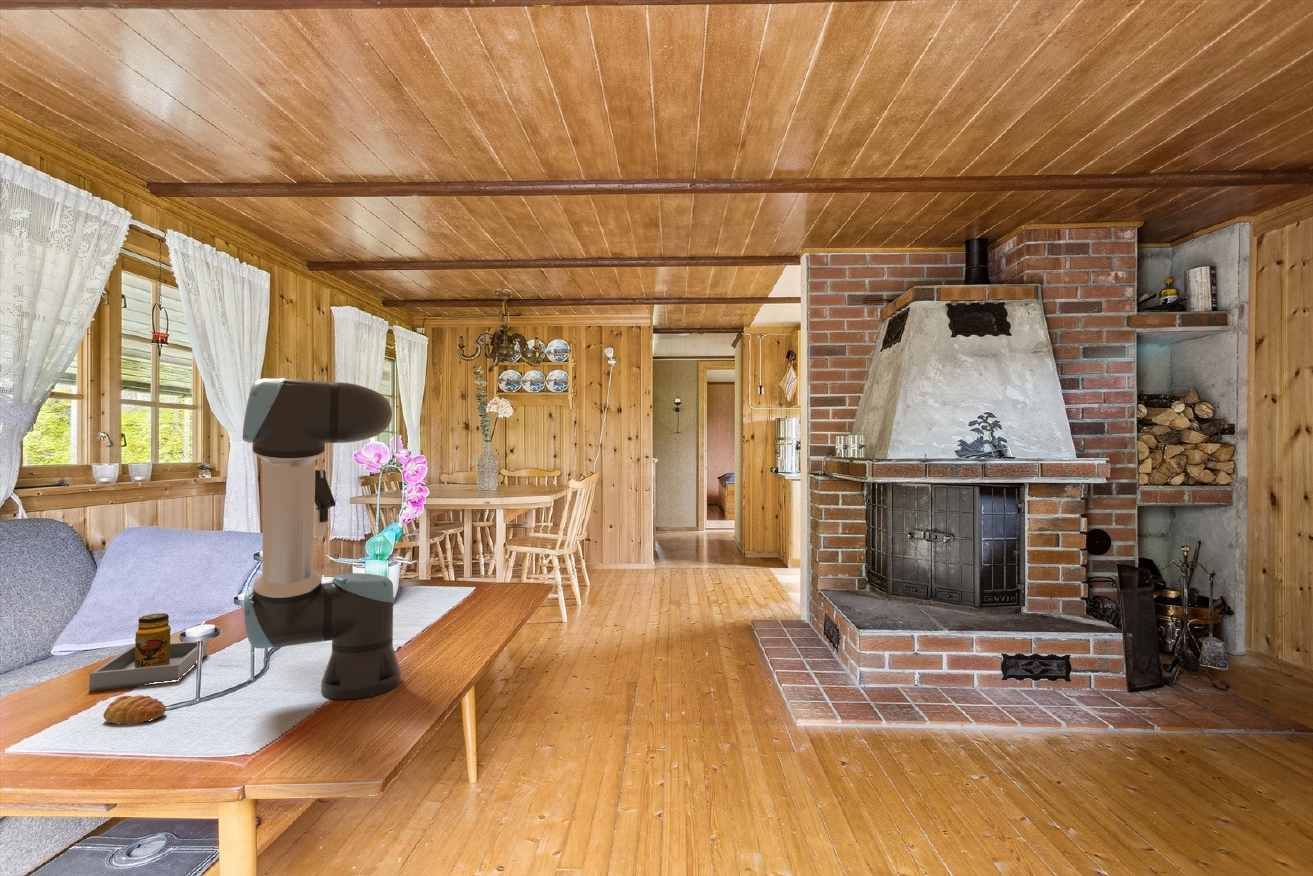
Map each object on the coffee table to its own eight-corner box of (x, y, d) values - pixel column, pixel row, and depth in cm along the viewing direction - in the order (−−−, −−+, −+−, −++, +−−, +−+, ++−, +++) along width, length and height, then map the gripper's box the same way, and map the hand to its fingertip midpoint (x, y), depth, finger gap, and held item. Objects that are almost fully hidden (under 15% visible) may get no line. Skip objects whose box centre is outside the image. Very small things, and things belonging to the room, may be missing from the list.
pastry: (177, 712, 115) (177, 692, 115) (143, 728, 108) (144, 707, 108) (133, 710, 116) (133, 690, 116) (96, 725, 109) (97, 704, 109)
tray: (177, 682, 130) (178, 665, 130) (89, 691, 125) (89, 673, 125) (207, 655, 148) (207, 640, 148) (130, 662, 142) (130, 646, 142)
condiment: (140, 677, 131) (142, 621, 131) (122, 670, 135) (124, 616, 135) (179, 667, 137) (181, 613, 138) (161, 661, 141) (162, 609, 142)
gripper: (352, 451, 155) (350, 534, 155) (273, 451, 162) (271, 531, 161) (329, 450, 148) (327, 538, 147) (248, 450, 154) (245, 534, 154)
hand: (298, 534), depth 154 cm, fingers open, 13 cm apart
